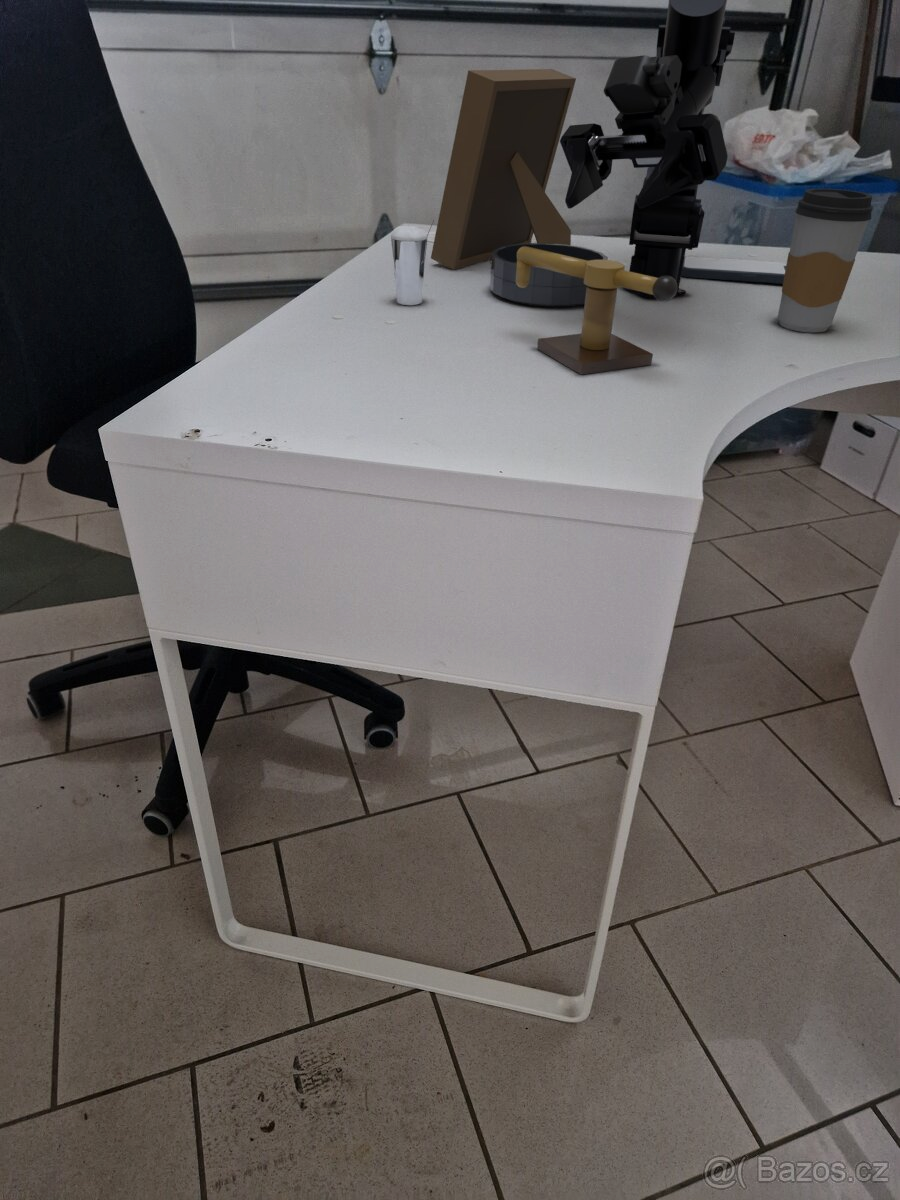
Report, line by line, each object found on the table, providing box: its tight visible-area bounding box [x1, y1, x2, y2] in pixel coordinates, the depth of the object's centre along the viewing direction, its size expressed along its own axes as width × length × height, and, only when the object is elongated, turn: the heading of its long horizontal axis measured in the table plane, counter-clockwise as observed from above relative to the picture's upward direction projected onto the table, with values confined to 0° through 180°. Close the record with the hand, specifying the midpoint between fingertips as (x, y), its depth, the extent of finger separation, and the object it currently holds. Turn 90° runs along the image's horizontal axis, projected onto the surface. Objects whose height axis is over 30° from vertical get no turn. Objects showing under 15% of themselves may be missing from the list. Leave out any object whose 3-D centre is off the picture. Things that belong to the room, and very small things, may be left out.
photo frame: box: [430, 68, 577, 271], centre depth 121 cm, size 15×22×25 cm
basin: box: [489, 242, 609, 308], centre depth 111 cm, size 15×15×5 cm
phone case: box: [681, 256, 787, 285], centre depth 124 cm, size 9×2×16 cm
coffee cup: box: [777, 188, 874, 334], centre depth 99 cm, size 8×8×15 cm
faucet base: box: [536, 286, 654, 376], centre depth 89 cm, size 9×9×7 cm
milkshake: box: [390, 219, 435, 306], centre depth 104 cm, size 5×5×10 cm
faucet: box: [516, 246, 677, 303], centre depth 88 cm, size 21×4×5 cm, turn 44°
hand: (602, 204), depth 89 cm, fingers open, 9 cm apart
